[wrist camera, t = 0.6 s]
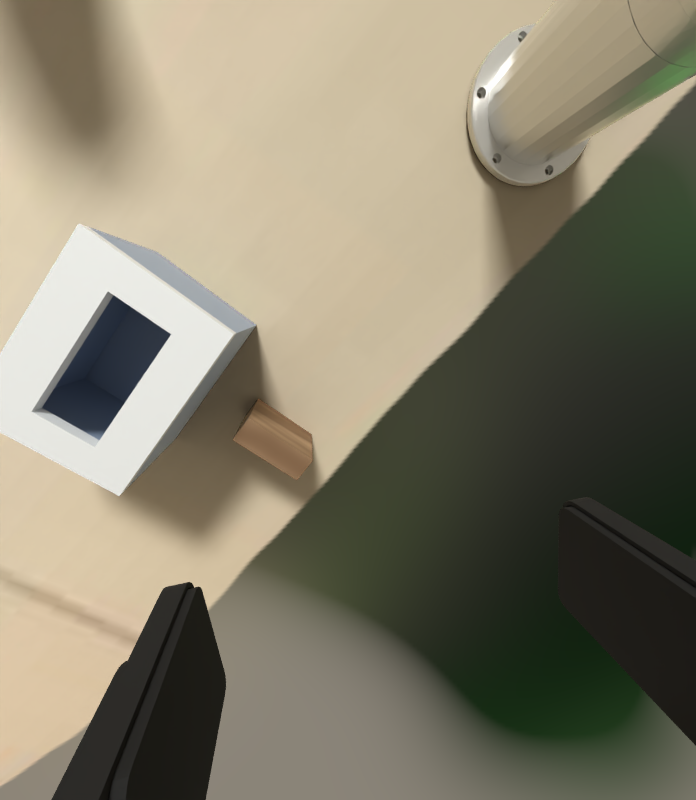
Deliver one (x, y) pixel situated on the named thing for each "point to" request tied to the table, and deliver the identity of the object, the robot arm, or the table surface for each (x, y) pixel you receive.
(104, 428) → the box
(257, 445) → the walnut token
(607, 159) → the table surface
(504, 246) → the table surface
